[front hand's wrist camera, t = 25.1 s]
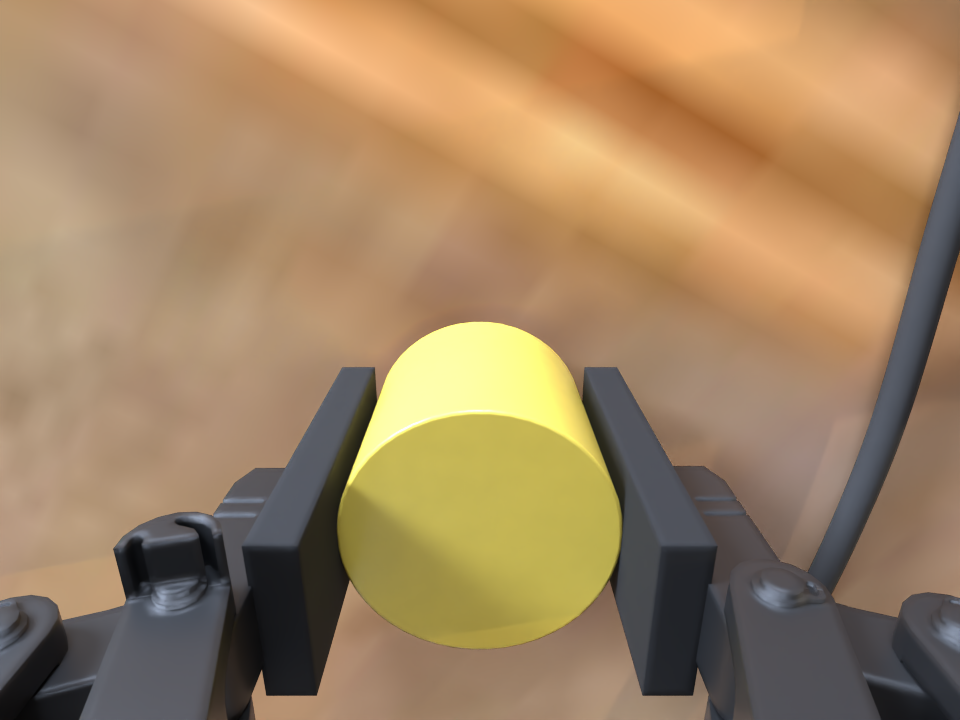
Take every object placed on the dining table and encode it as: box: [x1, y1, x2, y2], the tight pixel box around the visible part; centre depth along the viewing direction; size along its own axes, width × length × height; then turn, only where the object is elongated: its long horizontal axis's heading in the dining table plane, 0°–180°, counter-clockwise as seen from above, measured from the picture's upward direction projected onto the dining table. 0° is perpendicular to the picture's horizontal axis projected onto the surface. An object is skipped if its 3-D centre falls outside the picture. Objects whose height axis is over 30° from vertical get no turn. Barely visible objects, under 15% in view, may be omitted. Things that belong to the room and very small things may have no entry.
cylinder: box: [337, 322, 622, 649], centre depth 13 cm, size 5×5×5 cm
